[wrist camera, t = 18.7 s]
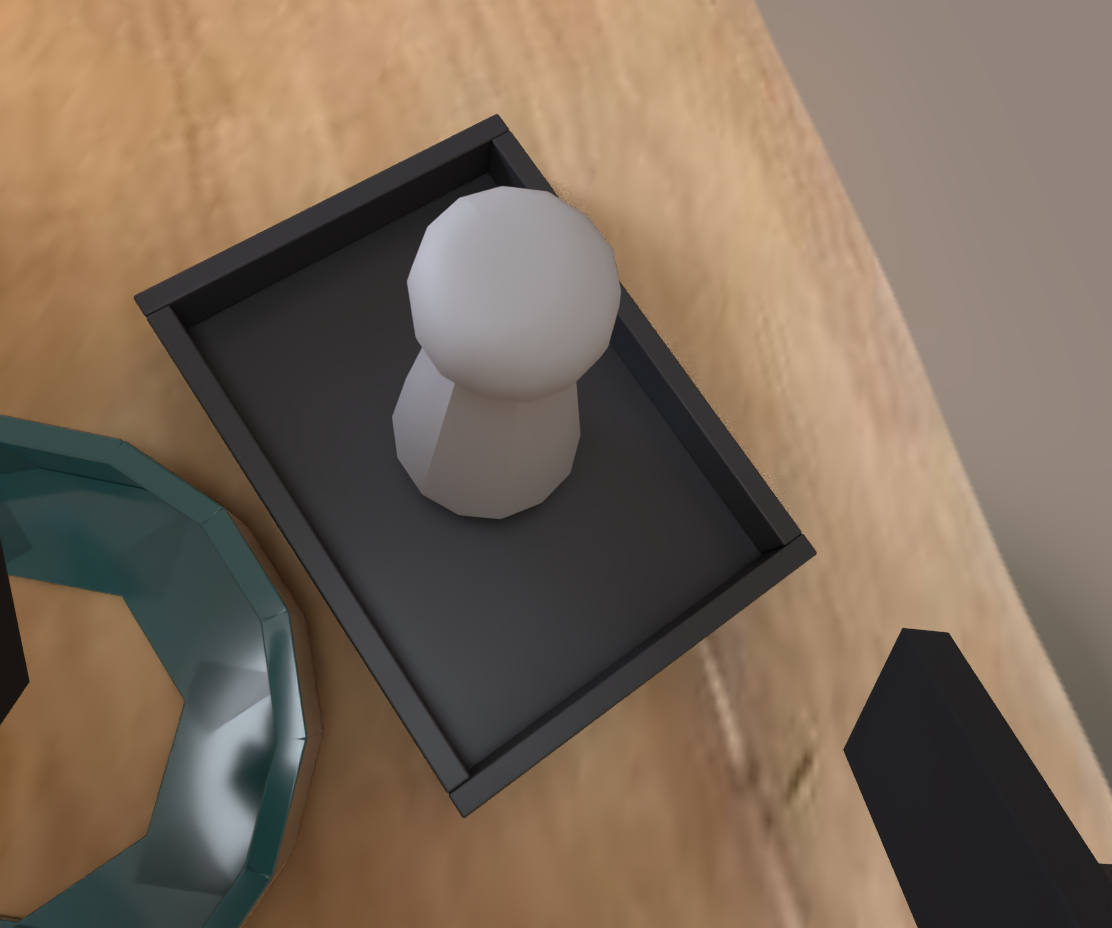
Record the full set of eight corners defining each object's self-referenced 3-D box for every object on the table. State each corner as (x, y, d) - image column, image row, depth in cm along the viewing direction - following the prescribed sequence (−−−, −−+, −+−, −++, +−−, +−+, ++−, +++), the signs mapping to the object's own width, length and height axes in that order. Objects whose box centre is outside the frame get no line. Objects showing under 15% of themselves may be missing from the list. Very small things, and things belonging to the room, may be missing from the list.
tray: (157, 329, 28) (131, 295, 26) (492, 156, 32) (497, 111, 29) (460, 805, 26) (463, 819, 24) (785, 563, 30) (818, 553, 27)
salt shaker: (572, 376, 30) (675, 154, 17) (563, 537, 28) (669, 424, 16) (404, 358, 29) (383, 114, 16) (386, 523, 27) (348, 392, 15)
